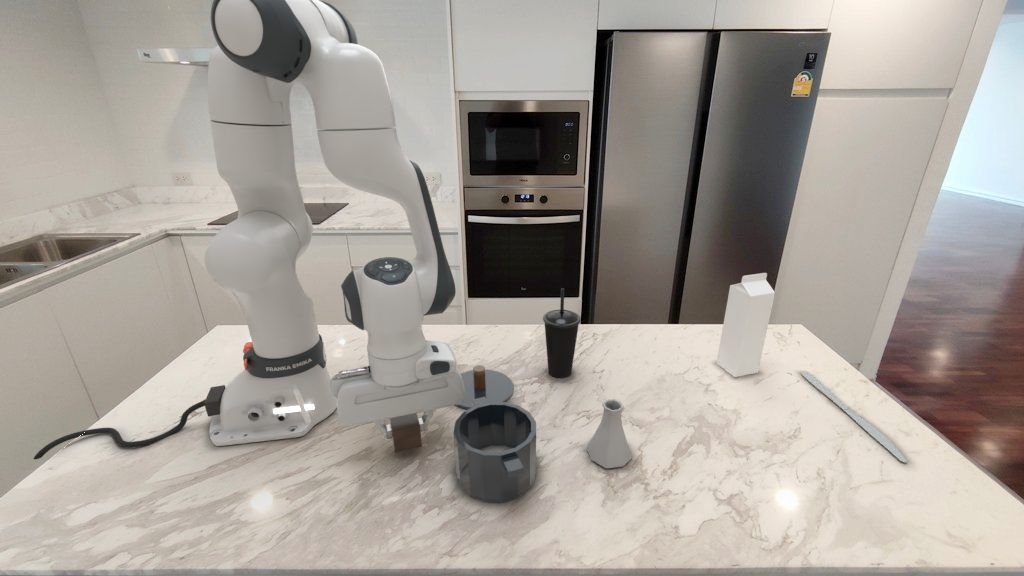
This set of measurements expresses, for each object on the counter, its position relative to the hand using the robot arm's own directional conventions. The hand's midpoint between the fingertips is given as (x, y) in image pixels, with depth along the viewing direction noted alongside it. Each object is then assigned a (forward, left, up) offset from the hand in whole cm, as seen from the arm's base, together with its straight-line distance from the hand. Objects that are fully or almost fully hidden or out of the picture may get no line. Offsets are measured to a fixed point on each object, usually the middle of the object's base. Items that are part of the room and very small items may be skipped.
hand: (406, 432), depth 80 cm
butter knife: (+79, -20, -4) cm, 82 cm away
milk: (+72, 0, -4) cm, 72 cm away
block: (0, 0, -2) cm, 2 cm away
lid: (+17, +12, -3) cm, 21 cm away
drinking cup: (+35, +12, -4) cm, 37 cm away
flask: (+32, -13, -4) cm, 34 cm away
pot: (+13, -10, -4) cm, 16 cm away
